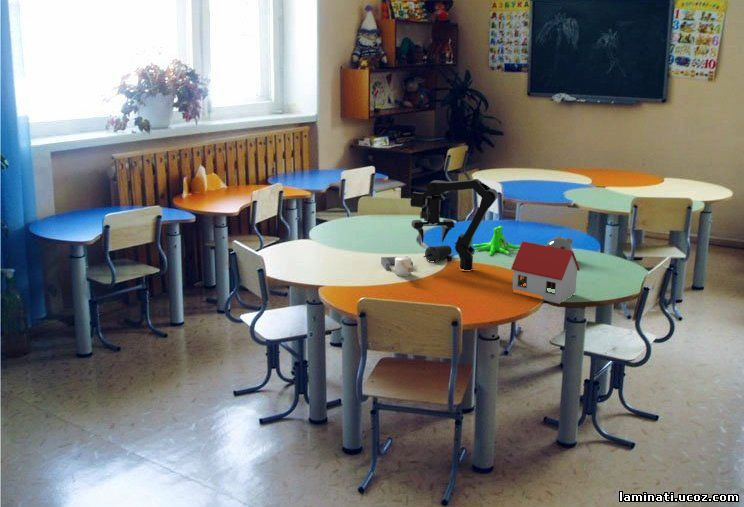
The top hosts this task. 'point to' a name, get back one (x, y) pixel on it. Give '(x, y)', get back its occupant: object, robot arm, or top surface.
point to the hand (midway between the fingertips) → (432, 242)
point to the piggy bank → (561, 243)
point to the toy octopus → (496, 243)
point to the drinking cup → (437, 252)
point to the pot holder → (389, 262)
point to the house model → (545, 271)
